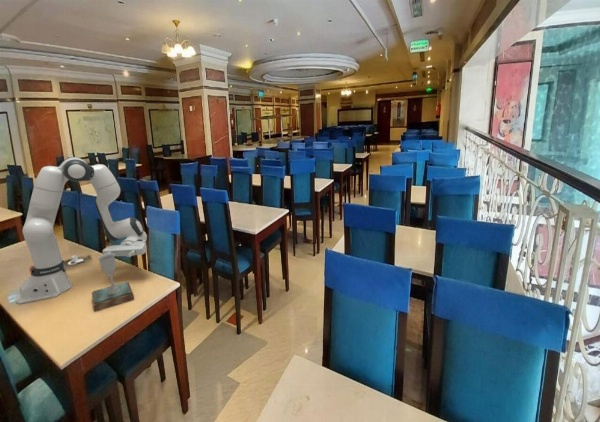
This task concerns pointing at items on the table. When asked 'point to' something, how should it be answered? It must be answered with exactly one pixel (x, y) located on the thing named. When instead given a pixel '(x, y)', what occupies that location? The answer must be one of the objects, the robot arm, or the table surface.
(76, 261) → the teacup and saucer
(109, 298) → the plinth
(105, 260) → the chalice
